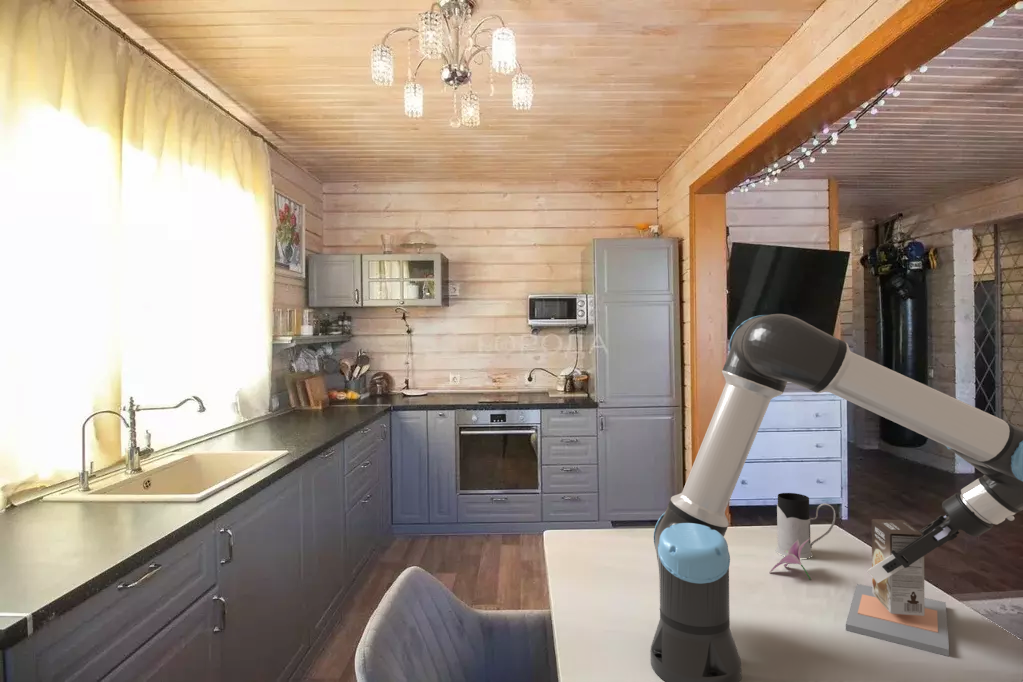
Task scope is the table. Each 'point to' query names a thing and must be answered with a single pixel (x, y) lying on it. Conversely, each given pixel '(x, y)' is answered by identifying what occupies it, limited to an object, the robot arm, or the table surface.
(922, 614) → the coffee box
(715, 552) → the robot arm
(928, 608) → the slate plate
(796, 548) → the lily
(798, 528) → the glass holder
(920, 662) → the table surface
